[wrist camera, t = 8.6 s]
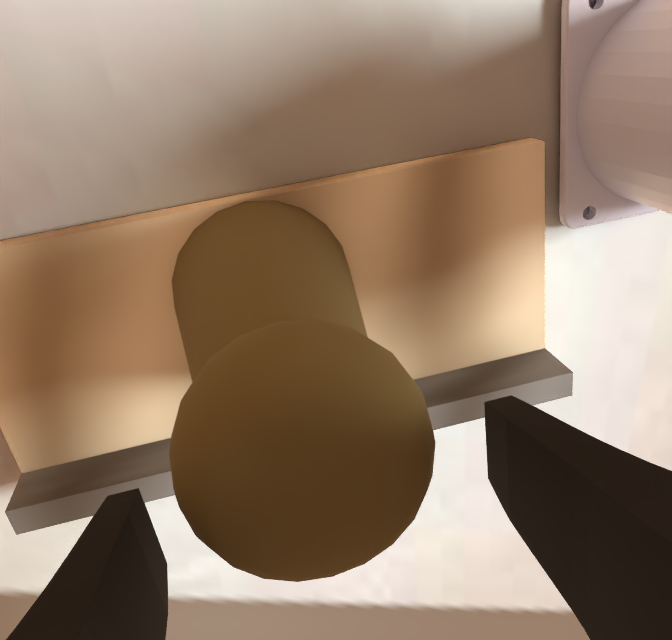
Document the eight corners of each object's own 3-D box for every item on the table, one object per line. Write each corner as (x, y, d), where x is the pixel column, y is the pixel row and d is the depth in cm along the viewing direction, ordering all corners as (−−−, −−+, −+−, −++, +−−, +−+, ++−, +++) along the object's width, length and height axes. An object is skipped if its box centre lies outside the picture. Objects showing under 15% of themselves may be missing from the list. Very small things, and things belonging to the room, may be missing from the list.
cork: (143, 332, 20) (84, 599, 10) (215, 167, 18) (227, 294, 9) (303, 389, 22) (382, 655, 12) (381, 245, 21) (544, 420, 11)
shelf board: (530, 137, 21) (577, 149, 18) (532, 360, 25) (572, 397, 22) (-65, 253, 19) (-110, 286, 16) (39, 479, 23) (17, 536, 20)
